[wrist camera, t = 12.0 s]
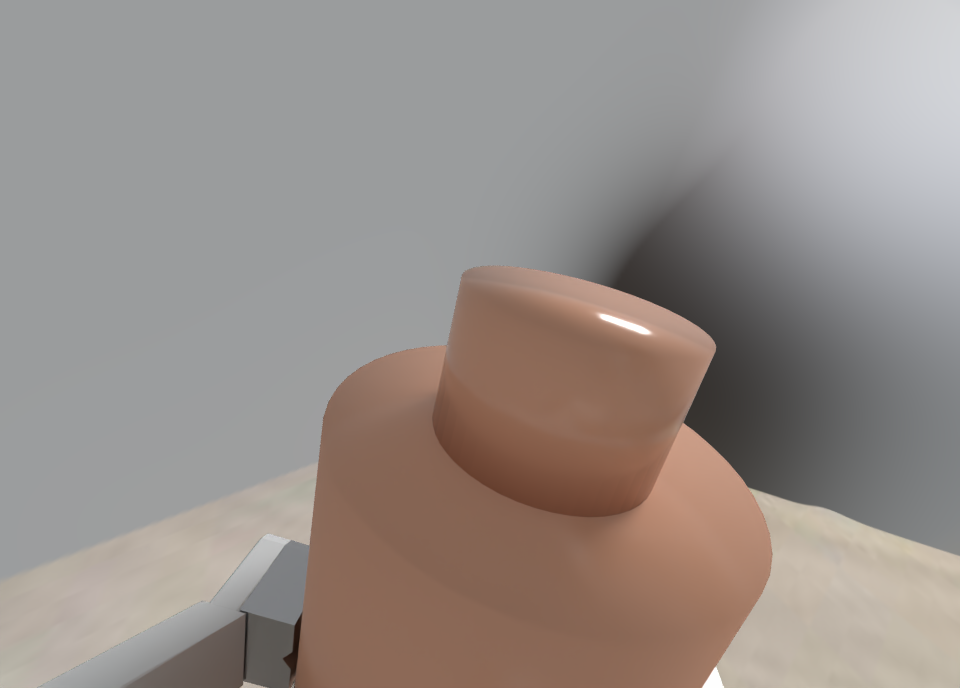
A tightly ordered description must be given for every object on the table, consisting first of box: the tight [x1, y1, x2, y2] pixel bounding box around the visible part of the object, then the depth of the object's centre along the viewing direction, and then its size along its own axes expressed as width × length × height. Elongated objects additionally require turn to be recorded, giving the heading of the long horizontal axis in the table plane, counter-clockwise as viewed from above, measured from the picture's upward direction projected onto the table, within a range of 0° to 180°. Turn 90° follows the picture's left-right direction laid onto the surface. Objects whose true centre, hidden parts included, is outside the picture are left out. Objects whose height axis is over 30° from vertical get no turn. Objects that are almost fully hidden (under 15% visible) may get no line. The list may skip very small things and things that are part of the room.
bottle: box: [294, 266, 772, 688], centre depth 8 cm, size 6×6×15 cm
